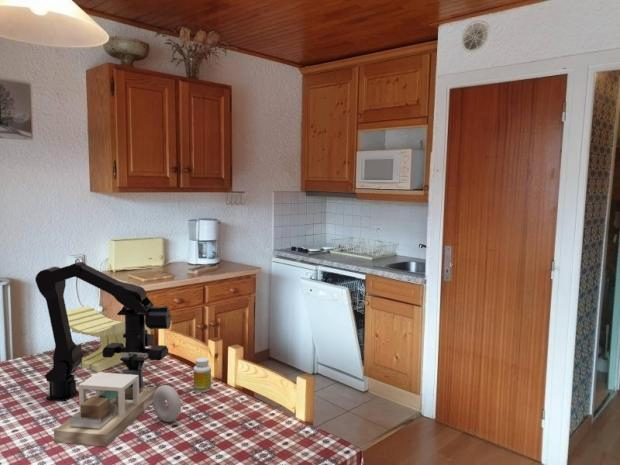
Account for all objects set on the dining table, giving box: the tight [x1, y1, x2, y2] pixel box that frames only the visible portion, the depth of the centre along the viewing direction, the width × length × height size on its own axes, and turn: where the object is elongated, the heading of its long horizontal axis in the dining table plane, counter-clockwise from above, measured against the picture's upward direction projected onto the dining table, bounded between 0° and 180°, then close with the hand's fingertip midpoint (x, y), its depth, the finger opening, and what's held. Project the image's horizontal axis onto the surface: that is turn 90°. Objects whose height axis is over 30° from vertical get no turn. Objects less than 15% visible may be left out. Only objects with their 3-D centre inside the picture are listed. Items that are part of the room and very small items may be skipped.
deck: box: [53, 386, 158, 448], centre depth 136 cm, size 14×29×3 cm, turn 172°
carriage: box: [69, 368, 144, 429], centre depth 136 cm, size 8×25×6 cm, turn 172°
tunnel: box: [78, 371, 139, 417], centre depth 135 cm, size 12×9×8 cm
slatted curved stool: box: [66, 305, 152, 372], centre depth 179 cm, size 30×16×18 cm, turn 63°
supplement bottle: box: [193, 357, 212, 393], centre depth 156 cm, size 5×5×10 cm
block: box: [81, 396, 110, 421], centre depth 129 cm, size 5×5×5 cm
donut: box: [152, 384, 182, 423], centre depth 134 cm, size 10×3×10 cm, turn 55°
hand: (136, 378), depth 150 cm, fingers closed, pressing on carriage
